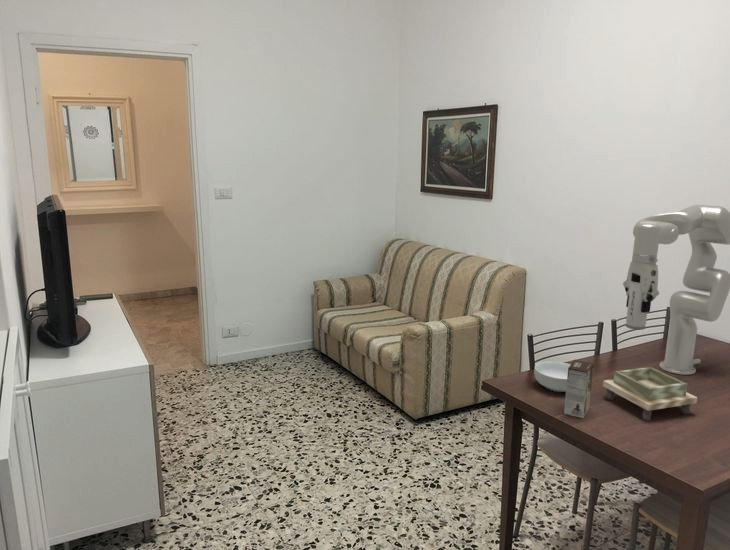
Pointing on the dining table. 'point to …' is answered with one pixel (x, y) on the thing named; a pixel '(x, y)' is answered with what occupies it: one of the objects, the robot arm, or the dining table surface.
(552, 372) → the cereal bowl
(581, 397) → the coffee box
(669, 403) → the framed shelf
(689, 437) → the dining table surface
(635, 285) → the travel mug
